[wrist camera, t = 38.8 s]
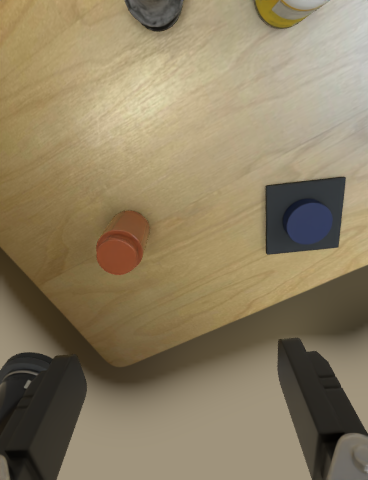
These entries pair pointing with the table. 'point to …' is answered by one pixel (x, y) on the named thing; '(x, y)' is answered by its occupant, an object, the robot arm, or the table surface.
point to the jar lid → (307, 221)
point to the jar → (123, 243)
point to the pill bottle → (286, 11)
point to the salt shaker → (155, 12)
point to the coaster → (289, 193)
